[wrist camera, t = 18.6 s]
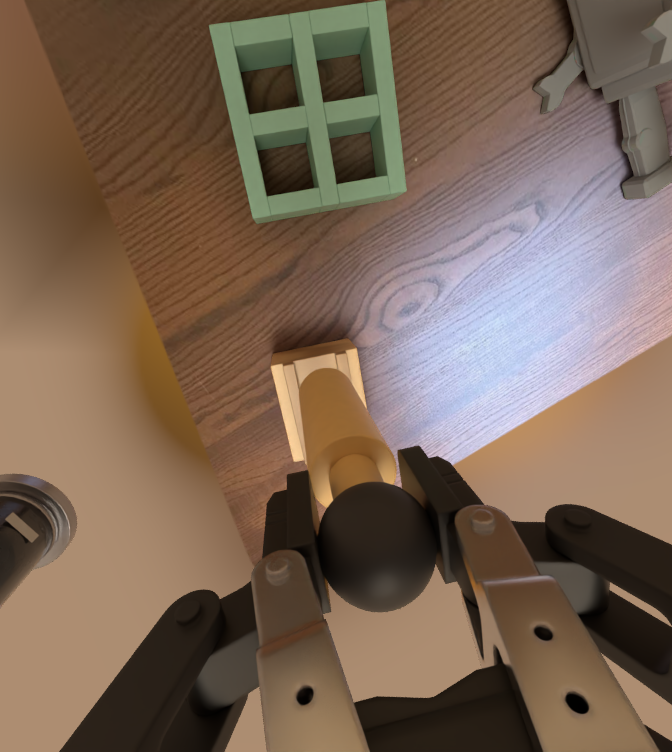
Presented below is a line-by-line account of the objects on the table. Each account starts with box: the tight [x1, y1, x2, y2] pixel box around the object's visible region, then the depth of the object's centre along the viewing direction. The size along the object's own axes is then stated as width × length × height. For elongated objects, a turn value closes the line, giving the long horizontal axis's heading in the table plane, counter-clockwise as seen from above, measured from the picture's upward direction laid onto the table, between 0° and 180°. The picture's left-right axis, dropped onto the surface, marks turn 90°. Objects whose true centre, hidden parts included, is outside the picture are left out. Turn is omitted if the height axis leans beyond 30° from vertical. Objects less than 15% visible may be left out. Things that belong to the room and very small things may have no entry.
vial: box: [299, 368, 437, 612], centre depth 15 cm, size 14×3×3 cm
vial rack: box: [209, 0, 407, 224], centre depth 32 cm, size 13×13×4 cm
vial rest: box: [271, 338, 367, 465], centre depth 38 cm, size 8×10×6 cm
